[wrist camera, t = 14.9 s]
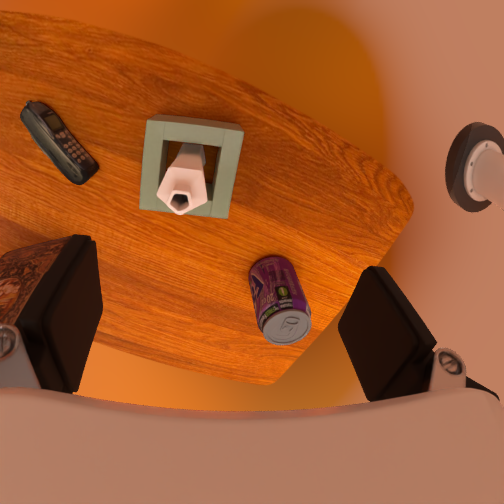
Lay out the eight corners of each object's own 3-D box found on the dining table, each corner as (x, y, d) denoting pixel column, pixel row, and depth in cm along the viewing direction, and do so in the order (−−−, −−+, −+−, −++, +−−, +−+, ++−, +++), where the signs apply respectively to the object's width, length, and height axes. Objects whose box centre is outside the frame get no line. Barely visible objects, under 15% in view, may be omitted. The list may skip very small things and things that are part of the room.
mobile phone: (91, 176, 31) (18, 94, 23) (76, 192, 31) (5, 112, 24) (103, 164, 35) (37, 89, 27) (89, 179, 36) (24, 106, 28)
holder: (239, 124, 35) (244, 131, 30) (224, 199, 40) (227, 219, 35) (156, 113, 33) (146, 119, 27) (148, 190, 38) (139, 209, 33)
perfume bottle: (199, 180, 38) (194, 236, 25) (169, 166, 36) (146, 216, 24) (216, 149, 36) (219, 190, 23) (185, 134, 34) (168, 166, 22)
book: (76, 234, 39) (0, 369, 18) (89, 265, 42) (32, 403, 21) (5, 252, 38) (-69, 361, 17) (18, 278, 41) (-44, 389, 20)
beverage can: (259, 248, 44) (274, 302, 34) (301, 261, 47) (325, 314, 36) (241, 285, 47) (250, 342, 37) (281, 295, 50) (298, 350, 40)
